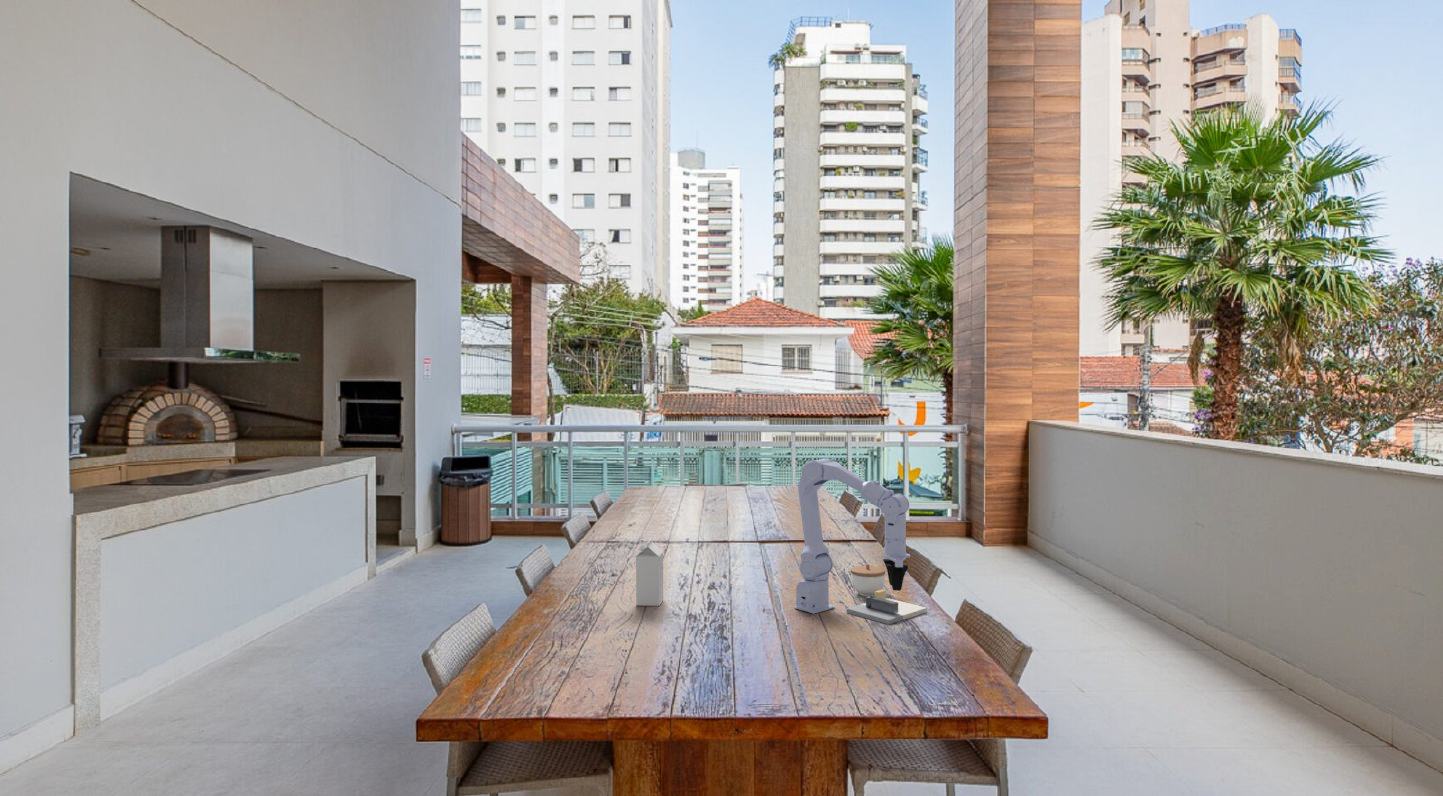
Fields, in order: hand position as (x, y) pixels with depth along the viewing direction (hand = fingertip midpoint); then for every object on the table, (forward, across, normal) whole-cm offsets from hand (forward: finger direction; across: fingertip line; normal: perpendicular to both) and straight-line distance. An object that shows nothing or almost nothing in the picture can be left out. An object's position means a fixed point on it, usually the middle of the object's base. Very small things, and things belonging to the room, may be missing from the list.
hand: (895, 587), depth 210 cm
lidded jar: (+10, +31, +4) cm, 33 cm away
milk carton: (+10, +16, +71) cm, 74 cm away
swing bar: (+8, +8, +3) cm, 12 cm away
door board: (+10, +11, +1) cm, 15 cm away
